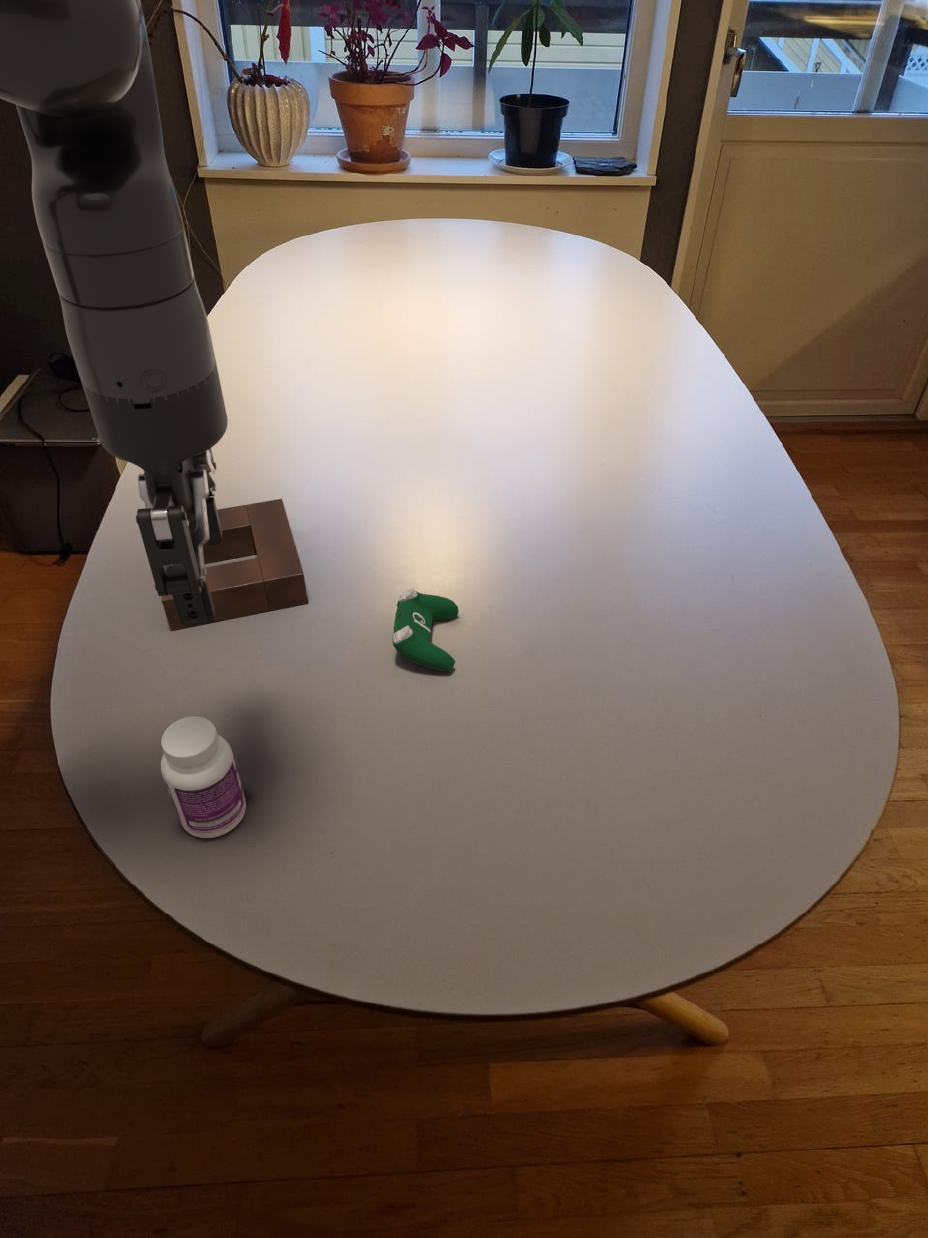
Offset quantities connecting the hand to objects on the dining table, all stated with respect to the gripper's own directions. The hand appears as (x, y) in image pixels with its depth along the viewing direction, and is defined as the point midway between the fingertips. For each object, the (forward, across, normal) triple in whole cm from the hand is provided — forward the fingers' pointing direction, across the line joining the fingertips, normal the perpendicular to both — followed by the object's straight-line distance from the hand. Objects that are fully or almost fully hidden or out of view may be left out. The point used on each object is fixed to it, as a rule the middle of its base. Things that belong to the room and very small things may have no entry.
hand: (203, 579), depth 60 cm
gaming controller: (+20, -12, +17) cm, 29 cm away
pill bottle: (+20, +5, -3) cm, 21 cm away
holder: (+20, -26, -3) cm, 33 cm away
